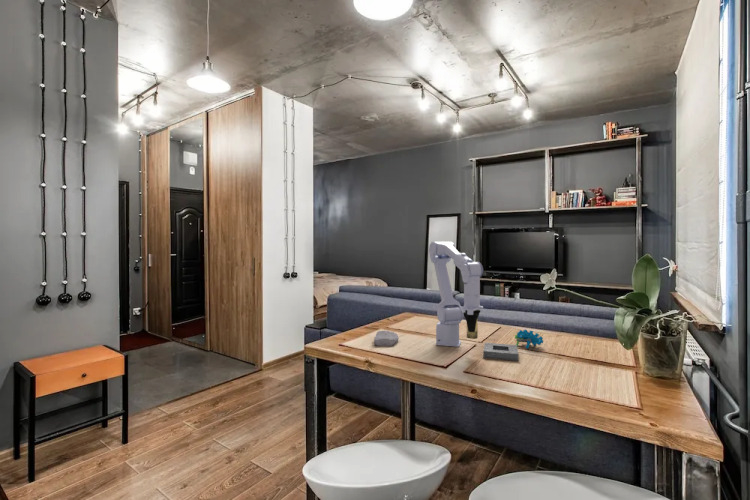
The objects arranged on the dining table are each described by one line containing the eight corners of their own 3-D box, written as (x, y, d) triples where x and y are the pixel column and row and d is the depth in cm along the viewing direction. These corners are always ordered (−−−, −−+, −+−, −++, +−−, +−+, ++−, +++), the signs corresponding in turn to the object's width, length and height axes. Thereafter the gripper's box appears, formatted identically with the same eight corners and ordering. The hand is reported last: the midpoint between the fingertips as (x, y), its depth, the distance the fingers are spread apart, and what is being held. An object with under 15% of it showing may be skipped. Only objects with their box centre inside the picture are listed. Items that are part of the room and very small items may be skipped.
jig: (483, 358, 132) (483, 351, 132) (484, 348, 144) (484, 342, 144) (518, 361, 128) (518, 354, 128) (517, 351, 140) (517, 345, 140)
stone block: (397, 343, 160) (376, 338, 162) (399, 332, 160) (377, 328, 161) (395, 352, 149) (372, 346, 150) (398, 341, 148) (374, 335, 149)
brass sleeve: (466, 338, 134) (466, 319, 134) (467, 335, 138) (467, 317, 137) (477, 339, 132) (477, 320, 132) (478, 336, 136) (477, 318, 136)
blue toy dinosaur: (547, 343, 145) (537, 328, 141) (544, 356, 142) (533, 341, 138) (521, 341, 153) (511, 327, 149) (518, 353, 150) (507, 339, 146)
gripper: (481, 297, 126) (482, 335, 127) (484, 292, 140) (484, 326, 140) (461, 296, 129) (461, 334, 129) (465, 291, 143) (465, 325, 143)
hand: (472, 330), depth 135 cm, fingers closed on brass sleeve, 4 cm apart
